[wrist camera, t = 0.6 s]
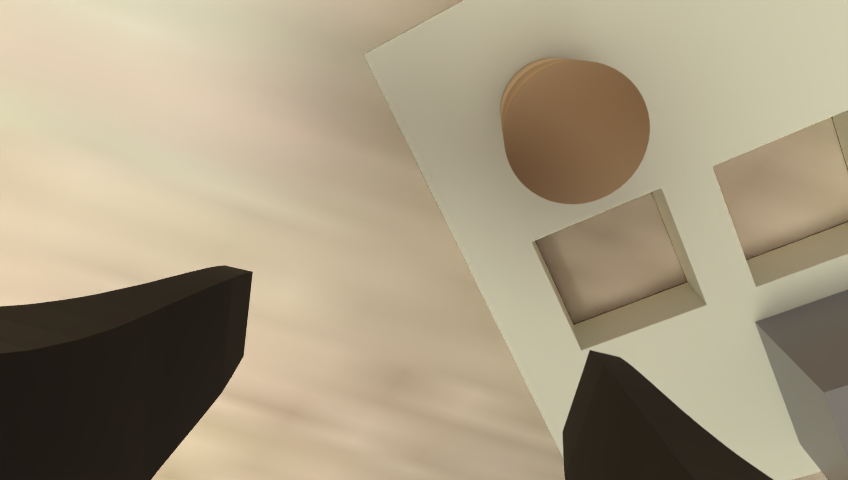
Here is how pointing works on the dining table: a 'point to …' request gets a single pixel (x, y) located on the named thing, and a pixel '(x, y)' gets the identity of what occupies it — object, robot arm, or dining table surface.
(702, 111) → the pin board
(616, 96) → the pin
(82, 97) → the dining table surface
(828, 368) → the grey chamfered cube
